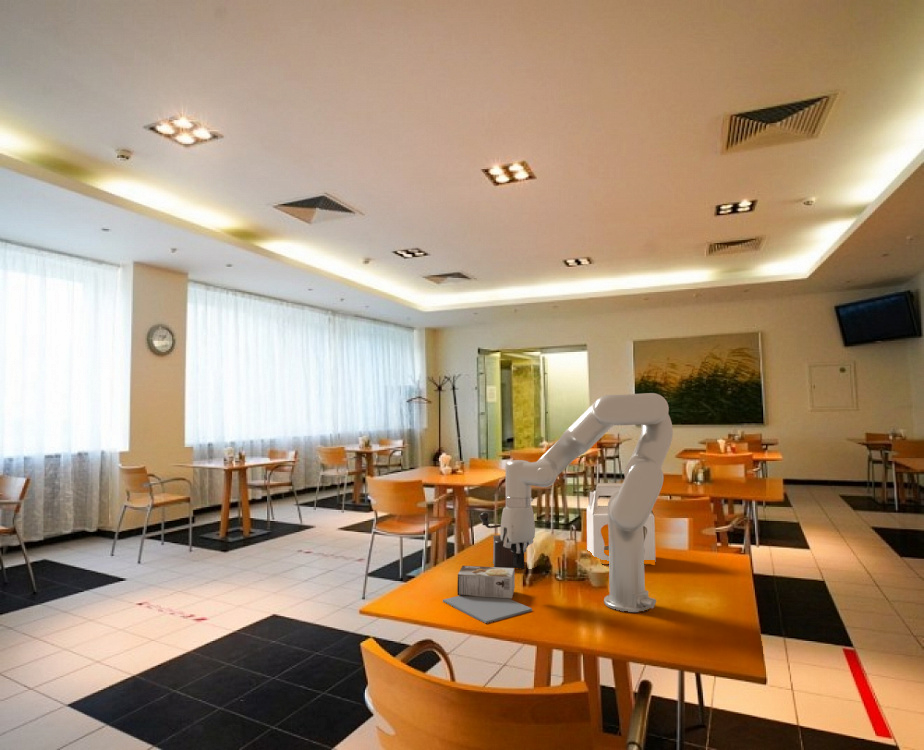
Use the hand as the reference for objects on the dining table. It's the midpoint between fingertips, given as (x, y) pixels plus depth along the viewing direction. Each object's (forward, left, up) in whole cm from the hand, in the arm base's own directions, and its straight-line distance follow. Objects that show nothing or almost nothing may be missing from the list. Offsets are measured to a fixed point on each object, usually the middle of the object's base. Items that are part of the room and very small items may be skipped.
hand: (518, 566), depth 160 cm
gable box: (+10, -58, -9) cm, 60 cm away
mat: (0, +12, -9) cm, 15 cm away
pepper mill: (+30, -18, -9) cm, 36 cm away
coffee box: (+2, 0, -5) cm, 6 cm away
